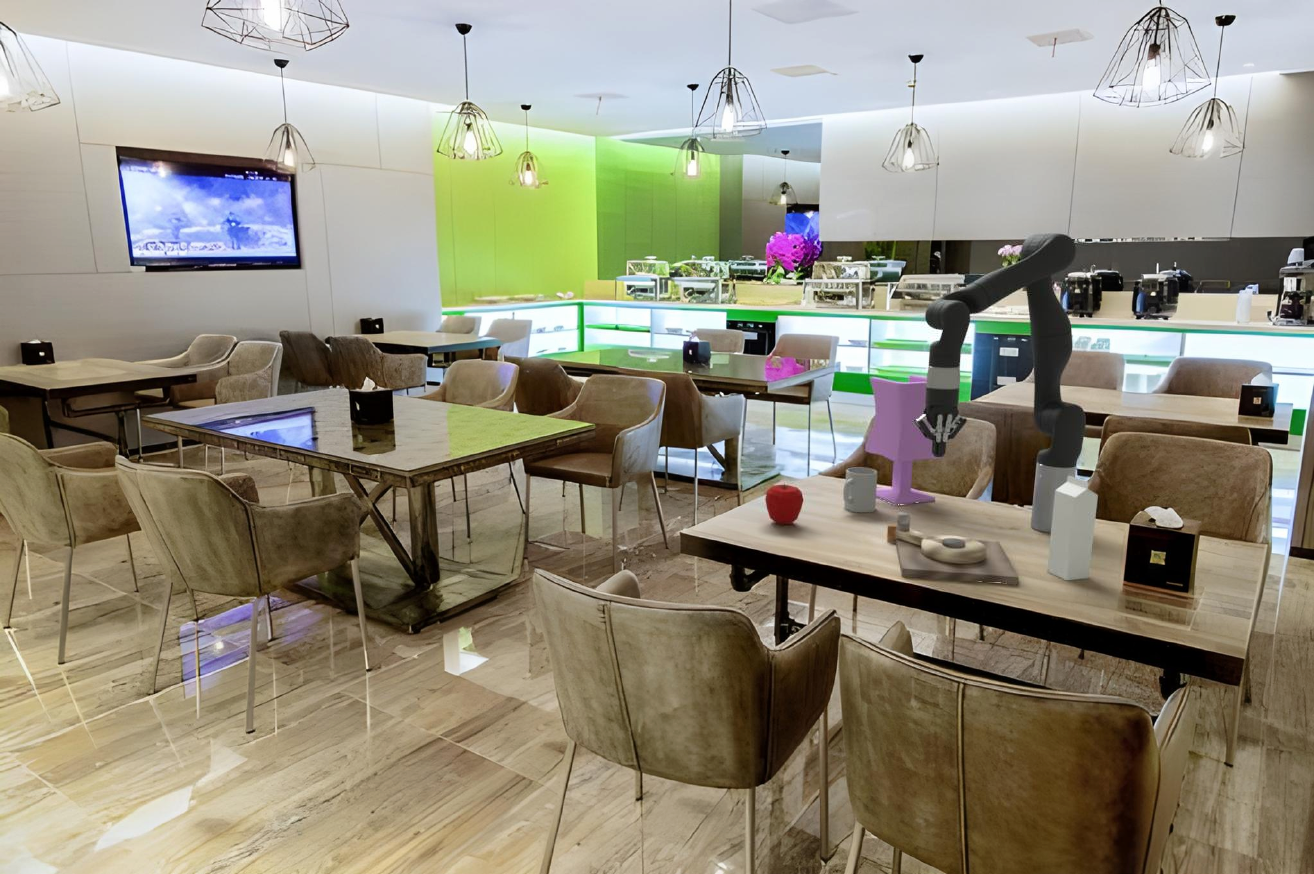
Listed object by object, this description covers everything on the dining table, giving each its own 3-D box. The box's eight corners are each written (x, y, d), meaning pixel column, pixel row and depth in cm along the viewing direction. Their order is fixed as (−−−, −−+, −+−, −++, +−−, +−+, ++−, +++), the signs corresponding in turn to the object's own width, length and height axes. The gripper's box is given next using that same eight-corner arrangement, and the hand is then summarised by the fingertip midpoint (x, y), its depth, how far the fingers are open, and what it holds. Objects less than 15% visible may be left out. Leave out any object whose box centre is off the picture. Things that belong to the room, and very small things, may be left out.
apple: (764, 528, 220) (765, 487, 217) (764, 517, 229) (765, 478, 227) (803, 529, 218) (804, 488, 216) (801, 518, 228) (803, 479, 225)
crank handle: (997, 555, 194) (1000, 530, 192) (962, 568, 185) (964, 542, 184) (914, 530, 211) (916, 507, 210) (878, 541, 203) (880, 517, 202)
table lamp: (906, 488, 258) (913, 374, 251) (940, 501, 244) (949, 381, 237) (862, 493, 253) (869, 376, 246) (894, 507, 239) (902, 384, 232)
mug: (855, 502, 243) (857, 465, 241) (881, 508, 237) (883, 470, 235) (830, 510, 235) (832, 472, 233) (857, 517, 229) (859, 478, 227)
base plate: (996, 546, 206) (998, 530, 205) (1017, 585, 181) (1019, 567, 181) (886, 538, 211) (887, 523, 211) (892, 575, 187) (893, 558, 186)
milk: (1066, 581, 184) (1076, 483, 179) (1046, 571, 190) (1055, 476, 185) (1089, 578, 186) (1100, 480, 181) (1068, 568, 191) (1078, 474, 187)
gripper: (960, 382, 205) (955, 451, 209) (909, 383, 203) (905, 454, 207) (977, 386, 198) (971, 458, 202) (924, 388, 196) (920, 461, 199)
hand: (938, 456), depth 204 cm, fingers closed
